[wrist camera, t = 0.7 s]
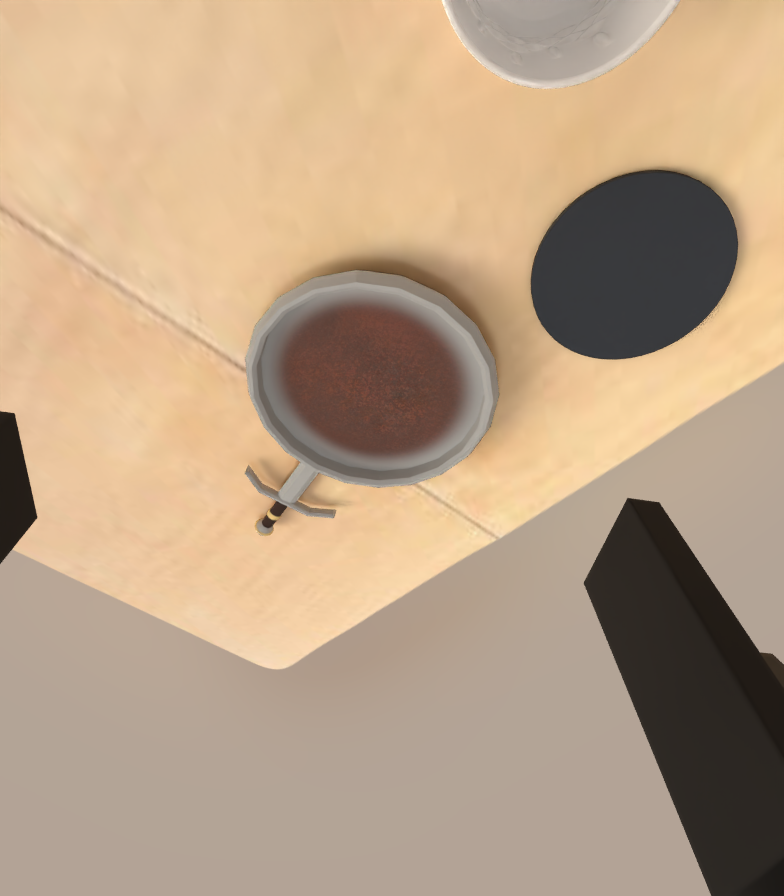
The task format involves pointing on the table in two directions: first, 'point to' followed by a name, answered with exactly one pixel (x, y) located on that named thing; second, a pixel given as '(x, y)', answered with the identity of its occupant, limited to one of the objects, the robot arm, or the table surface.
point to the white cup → (555, 36)
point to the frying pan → (367, 384)
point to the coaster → (634, 264)
